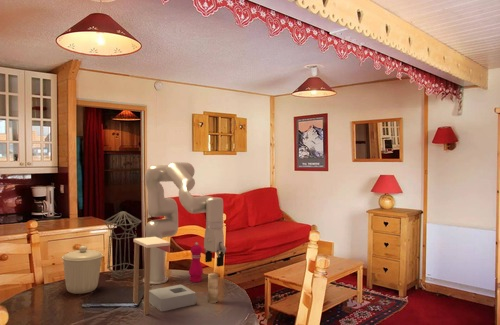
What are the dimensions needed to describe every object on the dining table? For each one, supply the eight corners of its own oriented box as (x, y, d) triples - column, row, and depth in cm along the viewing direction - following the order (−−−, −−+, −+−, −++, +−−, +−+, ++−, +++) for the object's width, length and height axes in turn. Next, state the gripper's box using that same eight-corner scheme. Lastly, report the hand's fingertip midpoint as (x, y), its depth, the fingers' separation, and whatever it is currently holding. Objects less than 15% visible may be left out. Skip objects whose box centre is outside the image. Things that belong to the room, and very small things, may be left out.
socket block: (147, 301, 173) (148, 290, 173) (180, 295, 183) (181, 284, 183) (161, 311, 162) (161, 299, 162) (195, 304, 171) (195, 292, 171)
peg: (205, 300, 176) (206, 274, 176) (214, 299, 178) (214, 272, 178) (210, 303, 172) (211, 276, 172) (219, 301, 175) (220, 274, 175)
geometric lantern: (143, 276, 211) (143, 211, 211) (115, 283, 200) (116, 214, 199) (127, 270, 222) (128, 208, 221) (101, 276, 211) (101, 211, 210)
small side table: (131, 304, 169) (133, 238, 169) (153, 300, 175) (155, 236, 175) (145, 315, 157) (146, 244, 157) (168, 310, 163) (170, 242, 163)
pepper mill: (200, 283, 202) (200, 243, 202) (186, 281, 204) (187, 243, 204) (204, 279, 209) (205, 241, 209) (191, 277, 211) (192, 240, 211)
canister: (60, 298, 174) (61, 251, 174) (61, 287, 191) (62, 243, 191) (103, 294, 181) (104, 248, 182) (101, 283, 198) (102, 241, 198)
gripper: (197, 223, 180) (197, 261, 180) (217, 228, 166) (217, 269, 166) (211, 222, 185) (211, 259, 184) (232, 226, 171) (232, 266, 170)
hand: (214, 263), depth 175 cm, fingers open, 9 cm apart
